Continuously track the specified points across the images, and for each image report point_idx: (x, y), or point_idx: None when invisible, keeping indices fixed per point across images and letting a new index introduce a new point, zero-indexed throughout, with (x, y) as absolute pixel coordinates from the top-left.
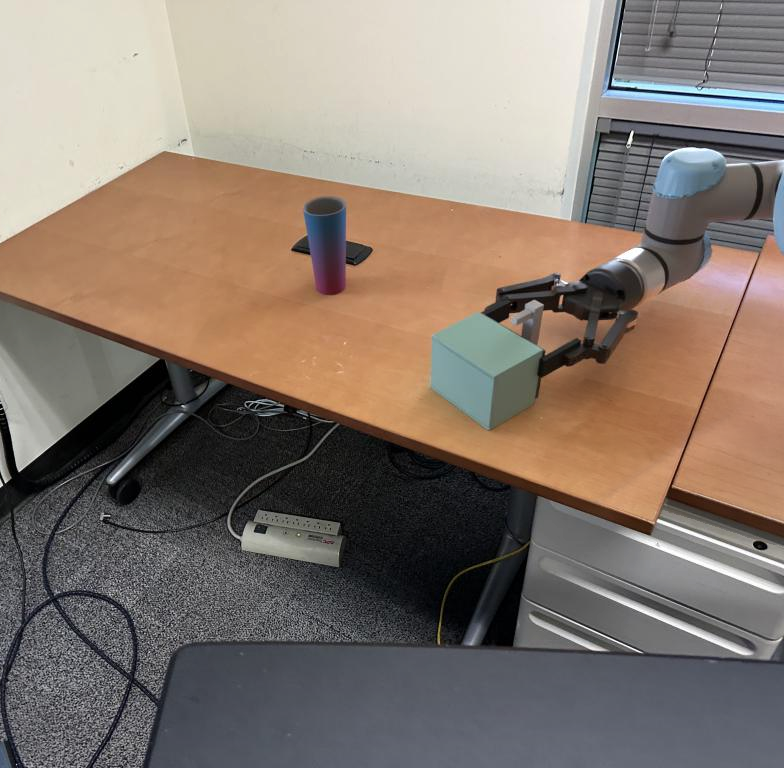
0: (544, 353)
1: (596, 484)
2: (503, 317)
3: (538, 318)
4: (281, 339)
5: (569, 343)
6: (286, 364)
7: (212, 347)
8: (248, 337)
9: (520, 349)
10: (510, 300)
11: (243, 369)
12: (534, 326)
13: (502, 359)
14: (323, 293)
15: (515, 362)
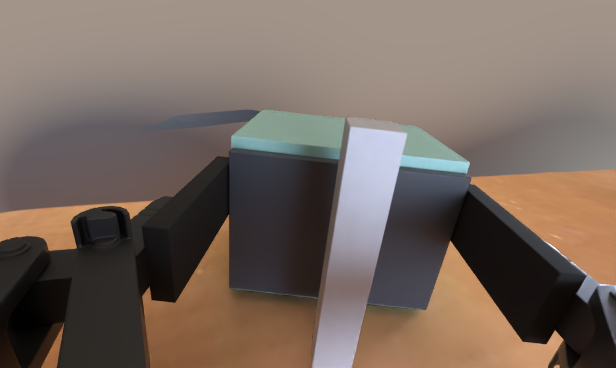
0: (229, 159)
1: (64, 221)
2: (509, 301)
3: (338, 177)
4: (575, 210)
5: (183, 201)
6: (509, 194)
7: (559, 183)
8: (582, 199)
9: (274, 130)
10: (596, 303)
11: (508, 179)
12: (333, 199)
13: (281, 119)
14: None
15: (257, 120)
